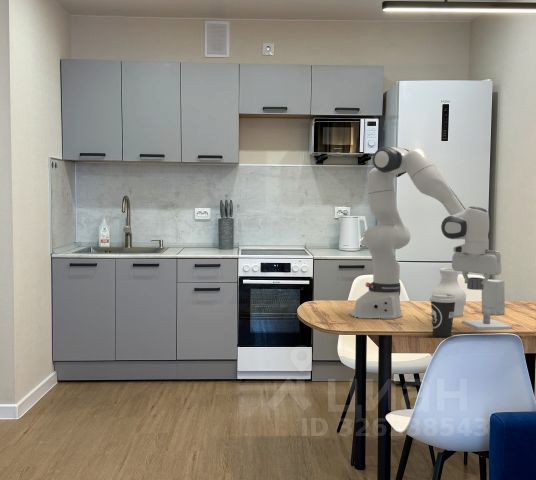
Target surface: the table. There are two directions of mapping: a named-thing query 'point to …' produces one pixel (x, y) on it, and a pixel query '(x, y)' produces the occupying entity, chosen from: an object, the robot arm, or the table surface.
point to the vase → (452, 289)
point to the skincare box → (494, 297)
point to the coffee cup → (442, 313)
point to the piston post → (486, 323)
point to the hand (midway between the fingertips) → (475, 284)
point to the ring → (474, 283)
